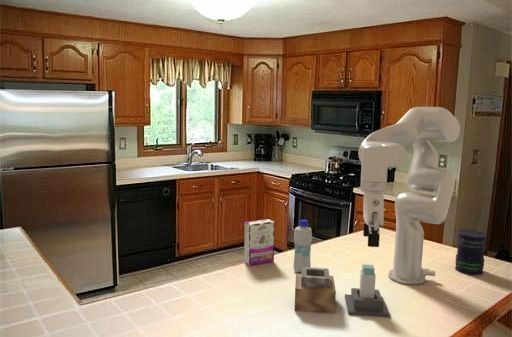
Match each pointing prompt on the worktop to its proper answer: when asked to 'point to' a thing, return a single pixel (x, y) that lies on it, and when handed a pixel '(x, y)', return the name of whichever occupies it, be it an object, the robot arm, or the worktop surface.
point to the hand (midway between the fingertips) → (370, 241)
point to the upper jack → (315, 291)
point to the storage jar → (470, 252)
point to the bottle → (302, 246)
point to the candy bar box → (259, 242)
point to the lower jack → (366, 304)
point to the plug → (367, 282)
